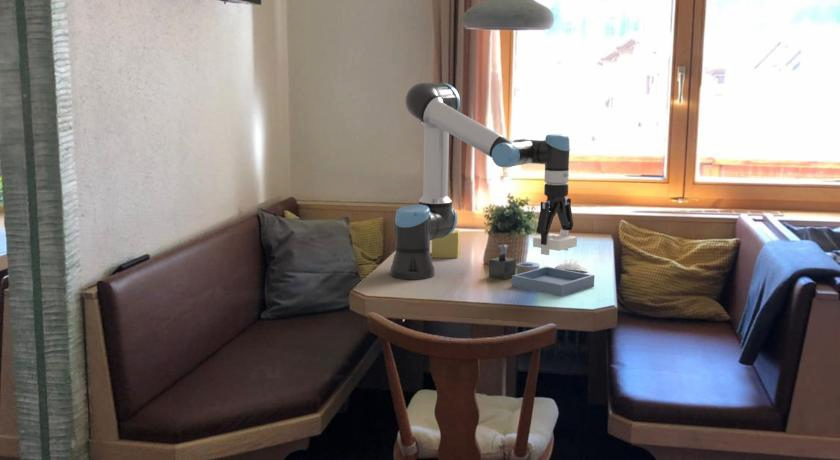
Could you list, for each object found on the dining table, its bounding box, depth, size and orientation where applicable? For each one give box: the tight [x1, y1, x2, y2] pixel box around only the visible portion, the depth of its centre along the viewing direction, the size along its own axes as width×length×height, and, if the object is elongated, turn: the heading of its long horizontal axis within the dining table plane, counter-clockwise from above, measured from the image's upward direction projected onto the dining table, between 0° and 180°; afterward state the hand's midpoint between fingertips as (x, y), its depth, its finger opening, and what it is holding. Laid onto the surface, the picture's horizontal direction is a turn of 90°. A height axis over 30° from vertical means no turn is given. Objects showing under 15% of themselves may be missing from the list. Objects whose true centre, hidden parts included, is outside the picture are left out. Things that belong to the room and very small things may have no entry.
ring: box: [532, 233, 578, 251], centre depth 278 cm, size 10×12×3 cm
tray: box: [511, 266, 596, 297], centre depth 280 cm, size 19×19×4 cm
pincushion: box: [554, 260, 589, 272], centre depth 302 cm, size 12×6×6 cm, turn 73°
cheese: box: [431, 229, 461, 259], centre depth 326 cm, size 10×11×10 cm
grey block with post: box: [488, 243, 517, 281], centre depth 292 cm, size 6×6×11 cm
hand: (554, 252), depth 278 cm, fingers closed on ring, 10 cm apart
